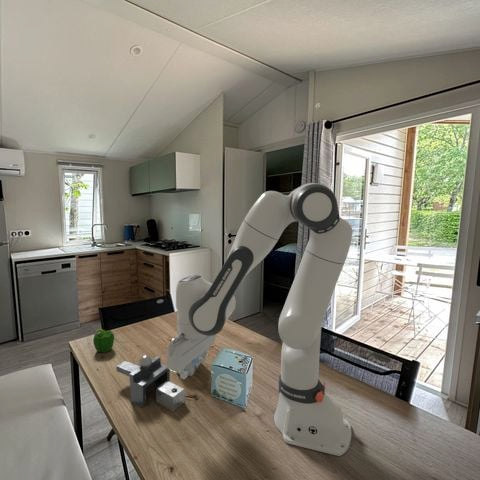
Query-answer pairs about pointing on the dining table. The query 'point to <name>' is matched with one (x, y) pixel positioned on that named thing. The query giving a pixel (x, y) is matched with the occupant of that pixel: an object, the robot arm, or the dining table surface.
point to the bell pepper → (103, 340)
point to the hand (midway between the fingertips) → (193, 369)
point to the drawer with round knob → (144, 377)
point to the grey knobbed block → (170, 395)
